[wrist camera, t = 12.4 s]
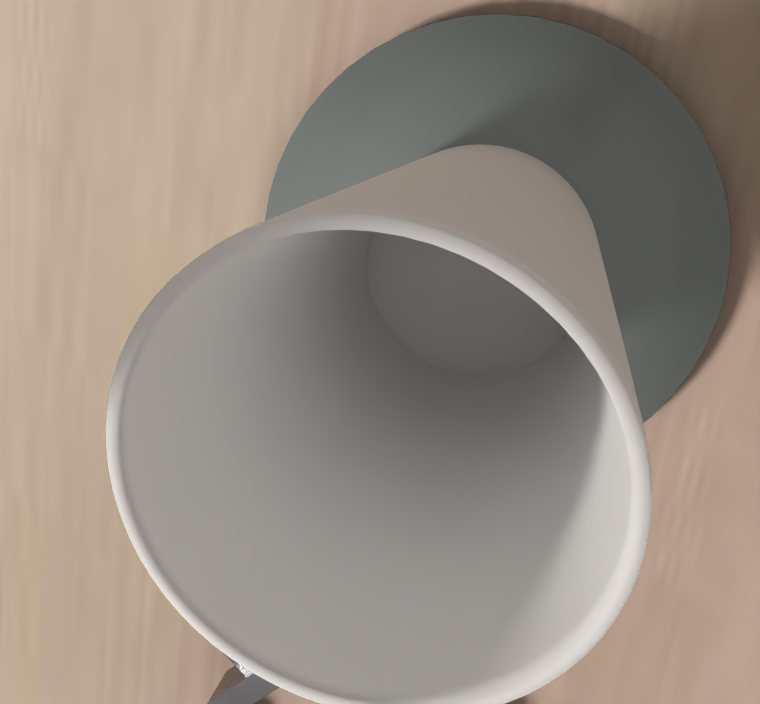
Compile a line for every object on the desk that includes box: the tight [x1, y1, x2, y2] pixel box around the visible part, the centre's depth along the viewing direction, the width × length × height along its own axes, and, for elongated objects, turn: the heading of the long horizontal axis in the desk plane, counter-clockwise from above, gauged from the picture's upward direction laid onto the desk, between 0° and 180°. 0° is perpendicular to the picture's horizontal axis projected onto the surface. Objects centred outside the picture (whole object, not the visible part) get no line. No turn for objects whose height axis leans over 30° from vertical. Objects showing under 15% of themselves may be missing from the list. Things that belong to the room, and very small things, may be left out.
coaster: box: [265, 14, 731, 422], centre depth 26 cm, size 16×16×1 cm
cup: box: [106, 144, 652, 704], centre depth 18 cm, size 8×8×16 cm
